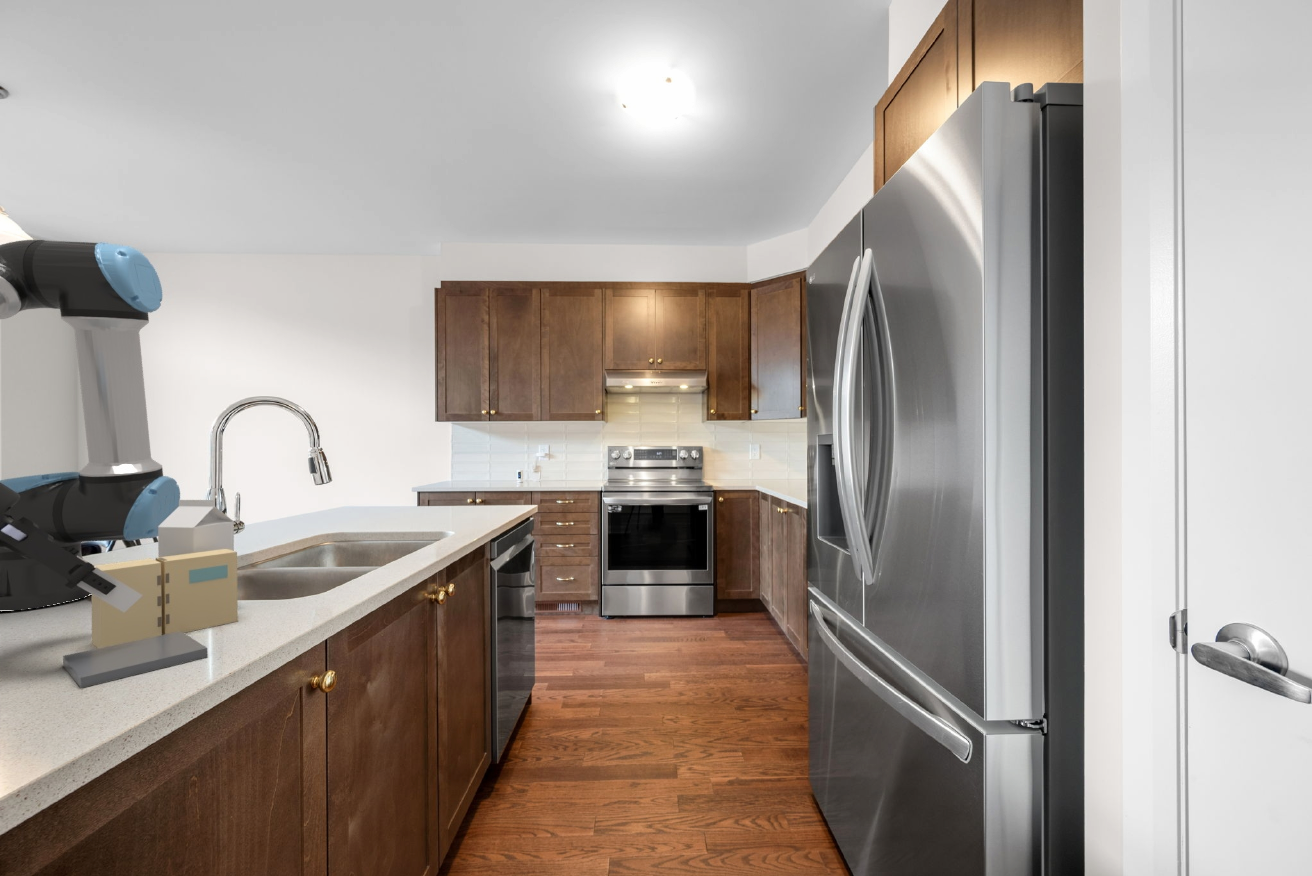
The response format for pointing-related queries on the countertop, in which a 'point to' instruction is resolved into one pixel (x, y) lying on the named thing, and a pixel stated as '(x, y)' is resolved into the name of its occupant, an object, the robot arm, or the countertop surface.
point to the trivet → (132, 658)
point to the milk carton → (195, 529)
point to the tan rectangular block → (141, 616)
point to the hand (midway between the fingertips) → (122, 596)
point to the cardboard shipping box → (198, 590)
